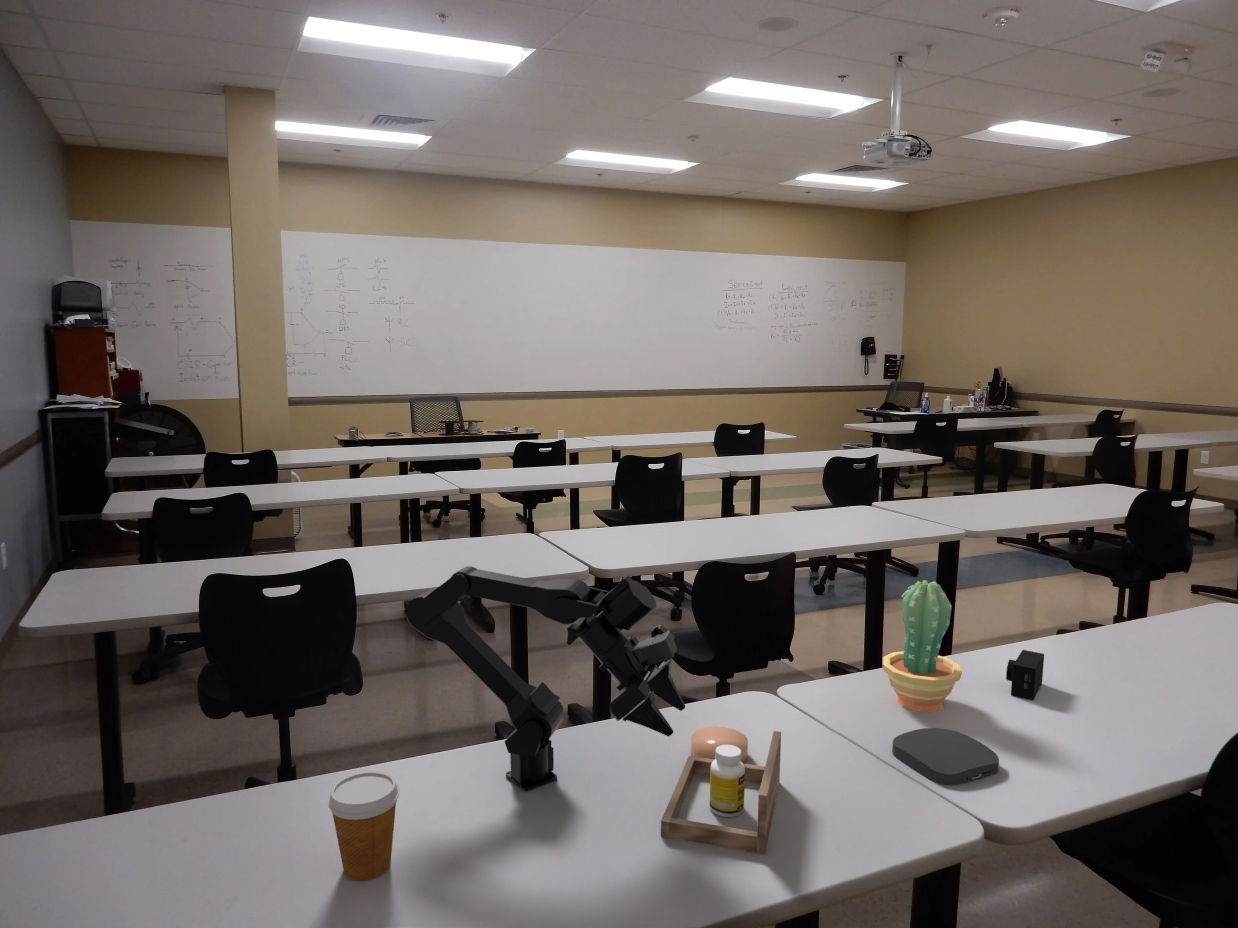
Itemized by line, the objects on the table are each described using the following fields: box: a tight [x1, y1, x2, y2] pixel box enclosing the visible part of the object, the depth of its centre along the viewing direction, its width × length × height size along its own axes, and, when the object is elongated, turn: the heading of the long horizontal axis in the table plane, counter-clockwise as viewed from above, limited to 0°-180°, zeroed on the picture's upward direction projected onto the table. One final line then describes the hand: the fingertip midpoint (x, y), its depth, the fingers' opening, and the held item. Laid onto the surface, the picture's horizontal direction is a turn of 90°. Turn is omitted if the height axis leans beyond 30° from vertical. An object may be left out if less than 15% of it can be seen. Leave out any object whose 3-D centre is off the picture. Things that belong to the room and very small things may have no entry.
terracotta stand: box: [690, 726, 749, 764], centre depth 148 cm, size 10×10×3 cm
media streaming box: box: [891, 727, 1000, 786], centre depth 147 cm, size 15×15×3 cm
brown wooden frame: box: [660, 730, 782, 855], centre depth 131 cm, size 15×20×9 cm
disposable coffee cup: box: [327, 770, 400, 882], centre depth 116 cm, size 10×10×12 cm
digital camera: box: [1005, 649, 1045, 701], centre depth 177 cm, size 10×5×7 cm, turn 144°
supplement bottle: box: [708, 745, 746, 818], centre depth 131 cm, size 5×5×10 cm
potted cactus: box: [882, 579, 963, 713], centre depth 169 cm, size 15×15×25 cm
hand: (677, 721), depth 132 cm, fingers open, 9 cm apart
